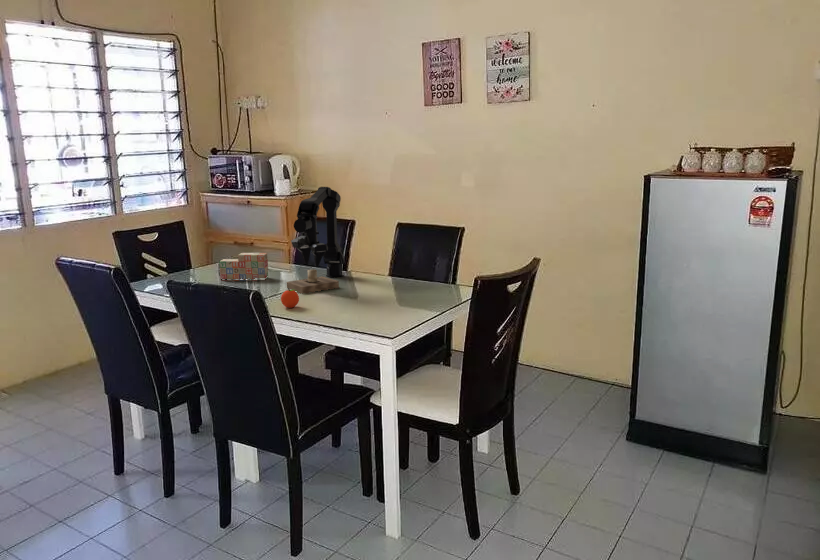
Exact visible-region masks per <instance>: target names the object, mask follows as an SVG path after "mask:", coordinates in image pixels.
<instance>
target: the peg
mask: <svg viewBox="0 0 820 560" xmlns="http://www.w3.org/2000/svg"><path fill="white" fill-rule="evenodd" d="M317 277H318V271H317V269H307V279H308V283H316V282H317Z"/></svg>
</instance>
